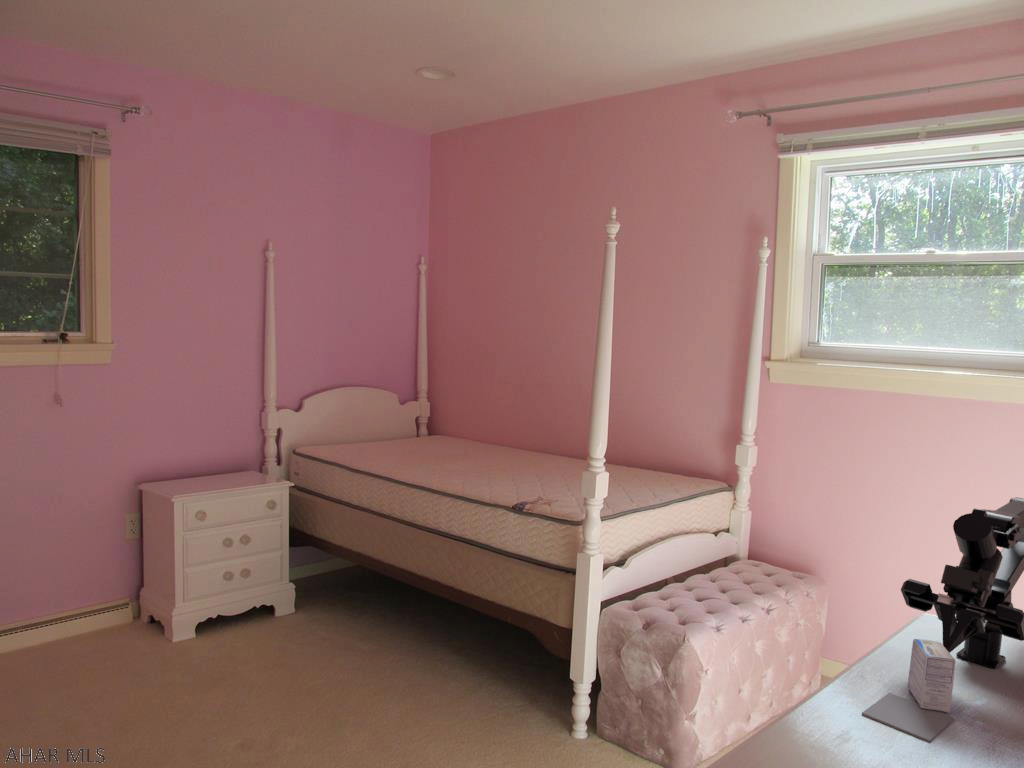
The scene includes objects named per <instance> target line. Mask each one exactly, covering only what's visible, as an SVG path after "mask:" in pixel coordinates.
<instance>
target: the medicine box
mask: <svg viewBox="0 0 1024 768" xmlns="http://www.w3.org/2000/svg"><path fill="white" fill-rule="evenodd" d="M956 662H957V661H956V659H955V657H953V656H952V654H951V652H950V653H949V652H948V651H947V649H946V648H945V647H944V646H943V643H941V642H940V641H937V640H928V639H923V638H914V639H913V640H912V646H911V655H910V664H909V671H908V679H907V680H908V681H907V688H908V690H909V691H910V693H911V694H912V695H913V697H914V700H916V703H918V704H919V705H920V707H921V708H924V709H929V710H935V711H939V712H942V713H946V714H947V713H950V712H951V707H952V706H951V705H952V698H953V697H952V696H953V691H954V690H953V689H954V680H955V670H956Z"/></svg>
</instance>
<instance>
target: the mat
mask: <svg viewBox="0 0 1024 768" xmlns="http://www.w3.org/2000/svg"><path fill="white" fill-rule="evenodd" d="M861 715H862V716H865V717H867V718H869V719H871V720H874V721H877V722H879V723H881V724H884V725H886V726H888V727H891V728H894V729H896V730H898V731H901V732H904V733H906V734H908V735H911V736H913V737H916V738H918V739H921V740H923V741H925V742H928V743H931V742H932V741H933V740H934V739H935V738H936V737H937V736H939V734H941V732H943V731H944V730H945V729H946V728H948V727H949V725H951V724H952V723H953V722H954V721H955V720H956V716H955V717H954V716H952V715H950V714H947V713H946V712H942V711H935V710H929V709H924V708H921V707H920V705H919V704H918V702H917V701H916V702H915V701H914V700H910V699H907V698H905V697H902V696H901V695H898V694H895V693H892V692H887V694H886V695H884V696H883V697H882V698H880V699H879V700H877V701H876V702H875V703H873V704H872V705H870V706H869V707H868V708H866V709H865V710H864V711H862V712H861Z"/></svg>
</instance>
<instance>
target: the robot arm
mask: <svg viewBox="0 0 1024 768" xmlns="http://www.w3.org/2000/svg"><path fill="white" fill-rule="evenodd" d="M952 528H953V532H954V535H955V539H956V542H957V546H958V549H959V552H960V553H961V554H962V557H961V559H960V562H959V564H958V565H956V566H954V565H951V564H944V565H945V566H944V568H943V573H942V577H941V579H940V583H941V584H942V585H943V584H944V586H943V587H942V588H943V592H944V593H946V594H943V593H942V592H941V593H940V592H938V593H934V592H933V590H932V588H931V587H932V586H931V585H930V584H929V583H926V582H923V581H919V580H916V579H912V578H908V579H906V580H905V581H904V582H903V583H902V586H901V588H900V592H901V594H902V597H903V600H904V602H905V604H906V606H907V607H909V608H912V609H914V610H918V611H921V612H924V613H925V612H928V611H931V610H932V608H933V607H934V610H935V613H936V616H937V619H938V620H939V621H941V624H942V625H941V627H942V645H943V646H944V647H945V648H946V649H947V651H948V652H949V653H950V654H951V653H952V652H953V651H954V650H955V649H956V648H957V647H959V646H960V645H961V644H963V643H964V646H963V648H962V649H960V650H959V651H958V652H956V657H958V658H960V659H964V660H967V661H970V662H974V663H976V664H979V665H982V666H986V667H988V668H991V669H996V668H998V667H999V666H1000V665H1001V664H1002V663H1003V662H1004V661H1006V656H1005V655H1002V654H1000V653H1001V649H1002V641H1003V639H1002V638H1003V636H1005V637H1008V638H1011V639H1014V640H1016V641H1017V640H1018V641H1021V642H1023V641H1024V611H1023V609H1020V608H1016V607H1014V604H1013V602H1012V590H1013V589H1014V587H1015V586H1016V584H1017V583H1018V581H1019V579H1020V577H1021V576H1022V575H1023V572H1024V497H1023V498H1022V497H1018V496H1017V497H1011V498H1010V499H1009V501H1008V502H1007V503H1006V504H1004V505H1002V506H1000V507H999V508H997V509H996V510H991V509H985V508H984V509H983V508H982V509H981V508H980V509H978V508H973V509H972V512H971V513H966V514H965V513H964V514H963V515H960V516H958V517H957V519H955V520H954V522H953V525H952ZM999 548H1002V550H1001V551H1000V549H999Z"/></svg>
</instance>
